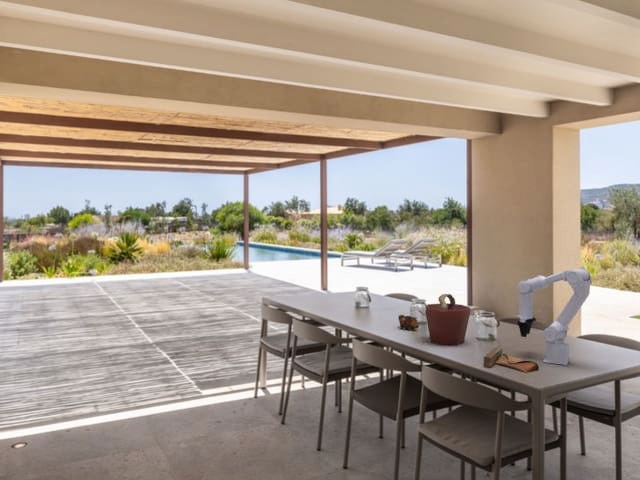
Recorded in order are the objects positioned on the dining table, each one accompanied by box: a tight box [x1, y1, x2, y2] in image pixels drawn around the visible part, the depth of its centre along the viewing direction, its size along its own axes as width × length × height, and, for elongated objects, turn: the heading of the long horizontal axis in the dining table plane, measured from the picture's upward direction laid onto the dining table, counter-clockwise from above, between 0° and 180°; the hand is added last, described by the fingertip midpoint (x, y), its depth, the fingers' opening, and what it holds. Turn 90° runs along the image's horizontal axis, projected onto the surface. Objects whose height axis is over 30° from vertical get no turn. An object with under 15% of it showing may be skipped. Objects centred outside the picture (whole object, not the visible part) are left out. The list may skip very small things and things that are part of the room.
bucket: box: [425, 293, 471, 347], centre depth 269 cm, size 24×22×25 cm
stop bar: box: [483, 346, 503, 369], centre depth 230 cm, size 3×20×4 cm, turn 148°
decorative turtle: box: [398, 314, 420, 331], centre depth 302 cm, size 10×15×8 cm, turn 41°
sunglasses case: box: [494, 353, 540, 374], centre depth 223 cm, size 18×7×7 cm
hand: (525, 335), depth 243 cm, fingers open, 7 cm apart
